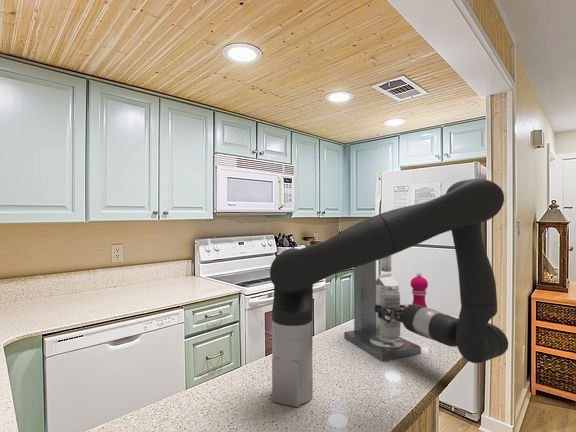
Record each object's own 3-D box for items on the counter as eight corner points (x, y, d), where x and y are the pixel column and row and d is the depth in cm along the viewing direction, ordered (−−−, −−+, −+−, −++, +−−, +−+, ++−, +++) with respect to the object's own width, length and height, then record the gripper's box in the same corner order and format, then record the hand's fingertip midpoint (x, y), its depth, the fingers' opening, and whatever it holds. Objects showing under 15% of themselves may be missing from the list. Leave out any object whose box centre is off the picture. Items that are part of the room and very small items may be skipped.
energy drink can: (397, 333, 106) (396, 285, 106) (403, 340, 100) (402, 289, 100) (377, 333, 106) (377, 285, 106) (382, 340, 100) (382, 289, 100)
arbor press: (441, 349, 104) (440, 238, 104) (382, 361, 95) (382, 240, 95) (396, 329, 122) (396, 235, 122) (344, 337, 114) (343, 236, 114)
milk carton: (399, 325, 127) (398, 274, 127) (386, 328, 123) (386, 276, 123) (383, 320, 133) (383, 272, 133) (371, 323, 129) (371, 273, 129)
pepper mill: (433, 330, 121) (433, 274, 121) (412, 330, 121) (412, 274, 121) (425, 323, 128) (425, 271, 129) (406, 323, 129) (406, 271, 129)
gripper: (445, 305, 92) (402, 292, 108) (403, 310, 87) (364, 296, 102) (445, 332, 92) (402, 316, 108) (403, 339, 87) (365, 321, 102)
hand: (384, 307), depth 105 cm, fingers closed on energy drink can, 6 cm apart
